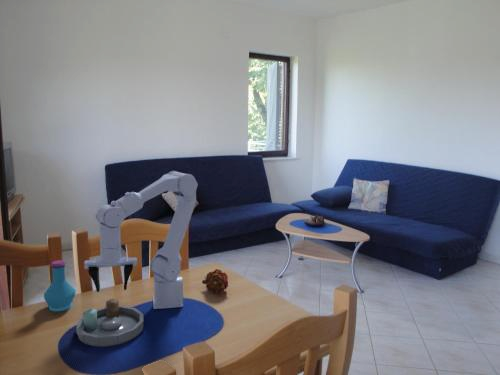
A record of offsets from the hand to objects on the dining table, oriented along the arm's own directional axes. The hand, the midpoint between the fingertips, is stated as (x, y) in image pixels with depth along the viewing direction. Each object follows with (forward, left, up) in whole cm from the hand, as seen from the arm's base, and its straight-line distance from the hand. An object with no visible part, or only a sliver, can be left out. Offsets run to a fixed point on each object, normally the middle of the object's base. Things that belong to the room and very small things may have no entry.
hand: (111, 289), depth 121 cm
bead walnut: (0, 0, -9) cm, 9 cm away
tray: (0, +6, -10) cm, 11 cm away
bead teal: (+6, +6, -9) cm, 12 cm away
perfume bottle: (+17, -12, -10) cm, 23 cm away
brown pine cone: (-34, -16, -10) cm, 39 cm away
